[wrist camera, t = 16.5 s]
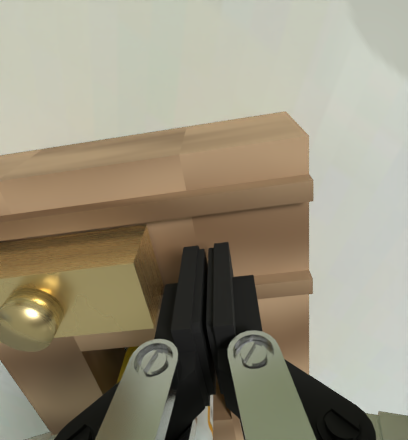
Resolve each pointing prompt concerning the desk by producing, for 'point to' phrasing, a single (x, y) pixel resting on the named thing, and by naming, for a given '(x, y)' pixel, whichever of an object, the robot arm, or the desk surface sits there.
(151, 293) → the latch bar
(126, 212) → the socket block
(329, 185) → the desk surface
